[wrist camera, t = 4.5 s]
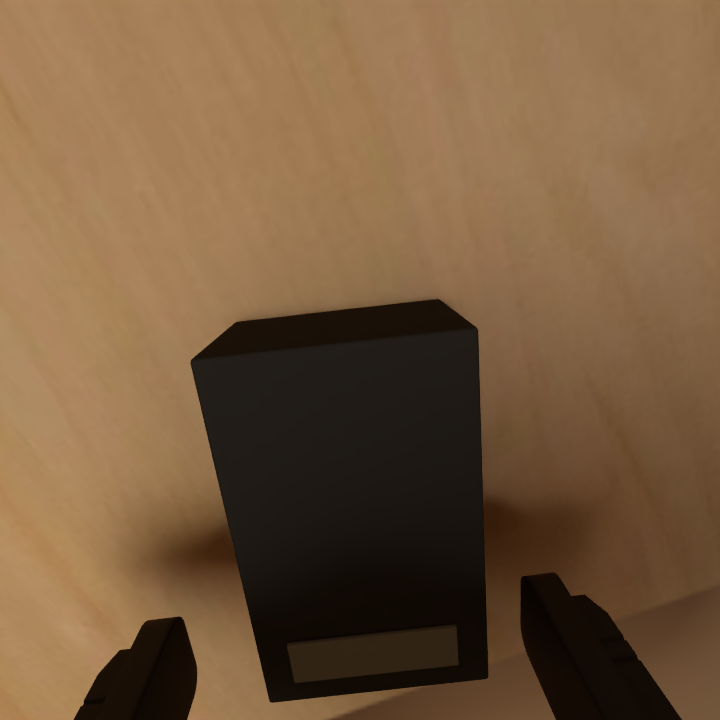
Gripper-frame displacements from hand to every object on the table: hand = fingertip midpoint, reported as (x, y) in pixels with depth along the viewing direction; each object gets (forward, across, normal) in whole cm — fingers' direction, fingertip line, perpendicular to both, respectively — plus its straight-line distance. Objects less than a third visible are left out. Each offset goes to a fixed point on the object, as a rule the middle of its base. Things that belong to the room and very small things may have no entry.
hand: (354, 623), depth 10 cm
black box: (+3, 0, -2) cm, 4 cm away
